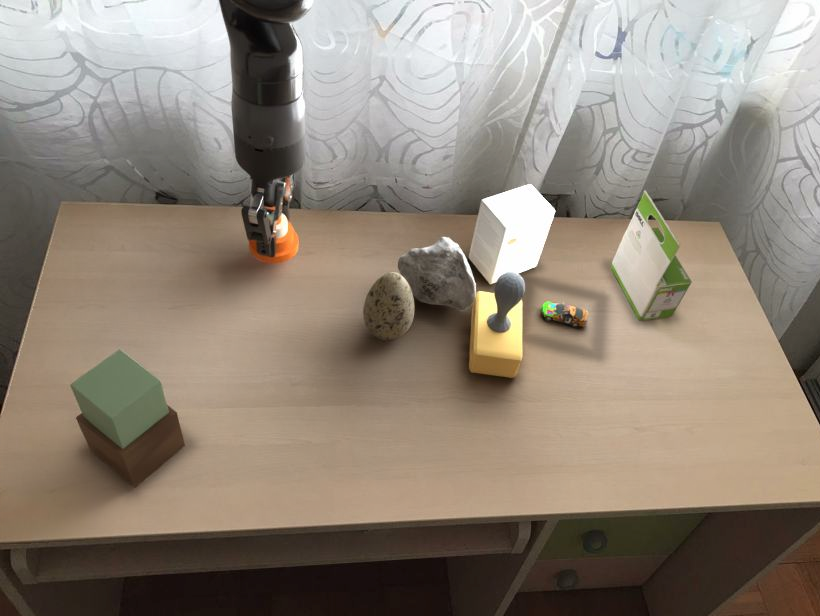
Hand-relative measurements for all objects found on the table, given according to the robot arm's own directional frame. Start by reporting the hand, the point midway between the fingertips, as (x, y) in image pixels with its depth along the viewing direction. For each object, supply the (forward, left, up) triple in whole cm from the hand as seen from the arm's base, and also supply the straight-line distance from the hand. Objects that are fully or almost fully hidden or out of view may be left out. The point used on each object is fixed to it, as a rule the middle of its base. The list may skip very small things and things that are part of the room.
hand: (273, 238), depth 92 cm
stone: (+8, -19, -4) cm, 21 cm away
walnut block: (-29, -9, -3) cm, 30 cm away
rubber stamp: (+8, -29, -4) cm, 30 cm away
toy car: (+18, -33, -4) cm, 38 cm away
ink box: (+29, -39, -4) cm, 49 cm away
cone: (0, 0, -1) cm, 1 cm away
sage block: (-29, -9, +3) cm, 30 cm away
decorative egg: (0, -18, -4) cm, 18 cm away
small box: (+20, -22, -4) cm, 30 cm away
